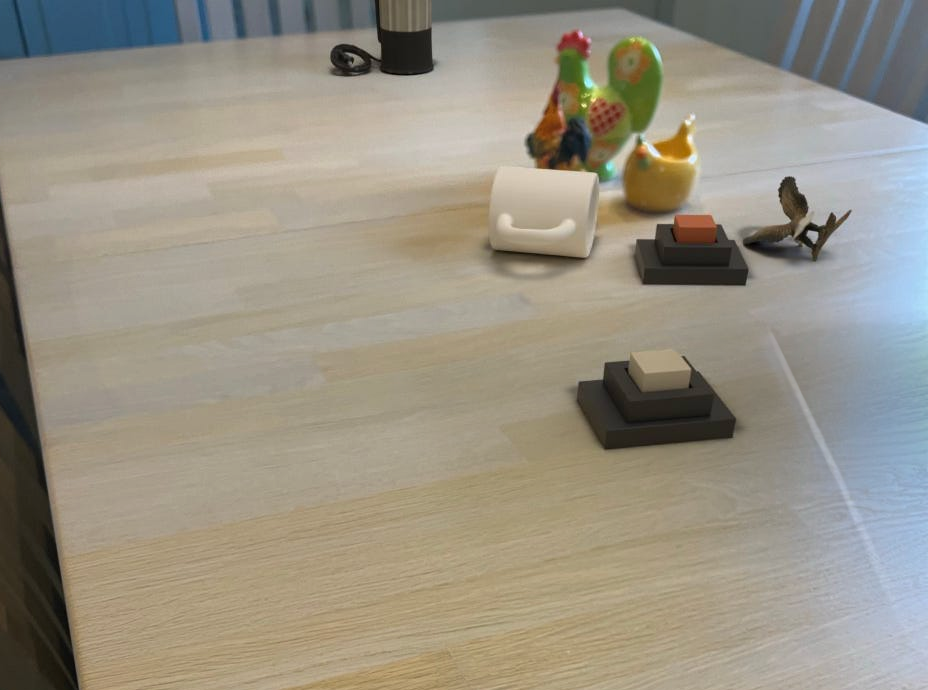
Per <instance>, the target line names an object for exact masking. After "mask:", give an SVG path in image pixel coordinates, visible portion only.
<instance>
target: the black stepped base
mask: <svg viewBox="0 0 928 690" xmlns="http://www.w3.org/2000/svg"><path fill="white" fill-rule="evenodd" d="M681 357H682V358H683V359H684V361H685V362H686V363H687V364H688V366H689V367H690V368H691V375H690V381H689V387H688V388H687V389H676V390H664V391H653V392H640V390H639V389H638V388H637V386H636V385H635V383H634V382H633V380H632V379H631V377H630V376H629V374H628V368H629V360H617V361H605V362H604V364H603V365H604V366H603V376H602V379H593V380H592V379H591V380H580V381H578V382H577V383H578V384H577V395H576V401H577V403H578V405H579V406H580V408H581V410H582V412H583V414H584V415H585V417H586V419H587V421H588V423H589V424H590V426H591V428H592V430H593V432H594V433H595V435H596V436H597V439H598V440H599V442H600V444H601V446H602V448H603V449H604V450H605V451H607V450H609V451H610V450H618V449H619V450H620V449H627V448H639V447H651V446H652V447H653V446H660V445H662V446H663V445H672V444H681V443H693V442H702V441H703V442H704V441H714V440H725V439H733V437H734V432H735V427H736V423H737V417H736V416H735V415H734V414H733V412H732V411H731V410H730V409H729V407H728V406H727V405H726V404H725V402H724V401H723V400H722V398H721V397H720V396H719V395H718V394H717V392H716V391H715V390H714V388H713V387H712V386H711V385H710V384H709V382H708V381H707V380H706V378H705V377H704V375H702V374H701V372H700V371H699V370H697V369H696V368H695V367H694V366H693V364H692V363H691V362H690V361H689V359H688V358H687V357H686V356H685V355H681Z"/></svg>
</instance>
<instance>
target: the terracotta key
mask: <svg viewBox="0 0 928 690" xmlns="http://www.w3.org/2000/svg"><path fill="white" fill-rule="evenodd" d="M673 224H674V225H673V235H674V237H675V240H676V243H715V237H716V231H717V226H716V224H717V223H716V222H715V220H714V218H713V216H712V214H674V219H673Z"/></svg>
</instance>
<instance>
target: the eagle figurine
mask: <svg viewBox="0 0 928 690" xmlns="http://www.w3.org/2000/svg"><path fill="white" fill-rule="evenodd" d="M796 180H797V179H796V178H795V176H790V175H788V176H785V177H784V178H783V179H782V180H781V182H780V183H779V187H778V189H777V192H778V195H777V196H778V198H779V204H780V205H781V208H782V212H783V214H784V215H785V216H786V217H787V218H788V219H789V220H790V221H789V222H788V223H785V224H771V225H765V226H763V227H762V228H759V229H758V230H757V231H755V232H754V233H753V234H752V235H750V236H746V237H745V238H743V241H742V243H743V244H746V245H747V244H752V243H758V242H766V243H768V244H774V243H780V242H782V241H784V239H786V238H788V237H789V236H791V237H792V239H791V240H792V241H794V243H795V244H798V245H799V246H800V247H804V245H805V247H807V248H809V249H811V256H812V258H811V259H812V261H813V262H816V261H818V257H819V253H820V252H821V250H822V248H823V246H824V245H825V244H826V243H827V241H828V240H829V239H830V237H831V235H833V233H835V231H837V229H838V228H839V227H841V226H842V224H843V223H844V222H845V221H846V220H847V219H848V218H849V216H850V215H851V213H852V211H853V210H852V209H849V210H848V211H846V213H844V214H843V215H842V216H841V217H840V218H838V220H837V216H836V215H835V214H834V212H833V211H831V212H830V213H829V216H828V217H827V220H826V221H825V224H821V225H818V224H816V223H814V222H812V220H813V217H814V215H815V211H814V210H812V211H811V212H810V213H809V203H808V200H807V198H806V195H805V194H803V193H801V192H800V191H799V187H798V186H797V182H796ZM808 213H809V214H808ZM807 214H808V215H807ZM808 232H815V233H817V239H816V240H815V241H814V242H815V243H814V242H813V241H812V239H811V238H810V237H809V236H807V235H808Z"/></svg>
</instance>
